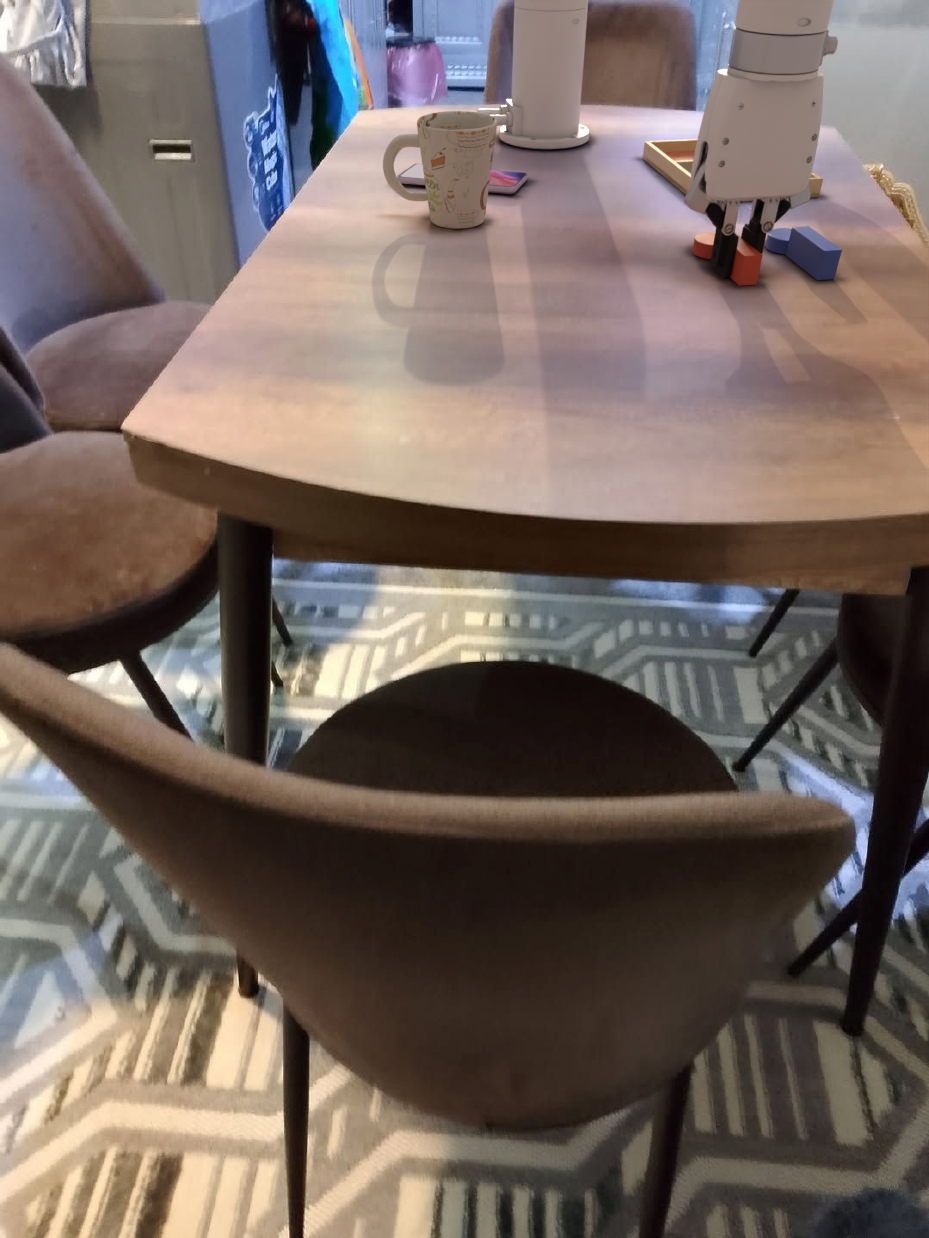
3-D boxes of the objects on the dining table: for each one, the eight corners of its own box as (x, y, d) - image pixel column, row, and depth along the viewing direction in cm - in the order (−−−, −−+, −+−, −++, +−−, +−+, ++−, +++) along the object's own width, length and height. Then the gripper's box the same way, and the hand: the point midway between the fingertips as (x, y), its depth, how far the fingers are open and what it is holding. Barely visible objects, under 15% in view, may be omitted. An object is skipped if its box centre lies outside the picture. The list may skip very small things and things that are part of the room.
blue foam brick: (845, 278, 88) (853, 249, 86) (806, 281, 87) (813, 251, 86) (794, 240, 96) (800, 213, 94) (758, 243, 96) (764, 215, 94)
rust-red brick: (767, 284, 87) (774, 254, 85) (727, 286, 86) (733, 257, 85) (722, 245, 95) (728, 217, 93) (686, 247, 95) (691, 219, 93)
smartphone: (414, 162, 115) (529, 172, 112) (415, 170, 116) (529, 180, 113) (394, 177, 110) (514, 187, 107) (395, 184, 111) (514, 195, 107)
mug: (487, 235, 97) (489, 132, 91) (374, 227, 99) (368, 126, 93) (500, 211, 104) (503, 113, 97) (394, 204, 105) (389, 107, 99)
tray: (697, 204, 106) (700, 185, 104) (642, 158, 120) (644, 141, 119) (819, 197, 108) (823, 178, 106) (750, 153, 122) (753, 136, 121)
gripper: (840, 43, 81) (791, 254, 93) (671, 49, 79) (644, 263, 91) (884, 59, 75) (826, 281, 87) (703, 65, 73) (669, 291, 85)
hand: (733, 270), depth 89 cm, fingers closed on rust-red brick
